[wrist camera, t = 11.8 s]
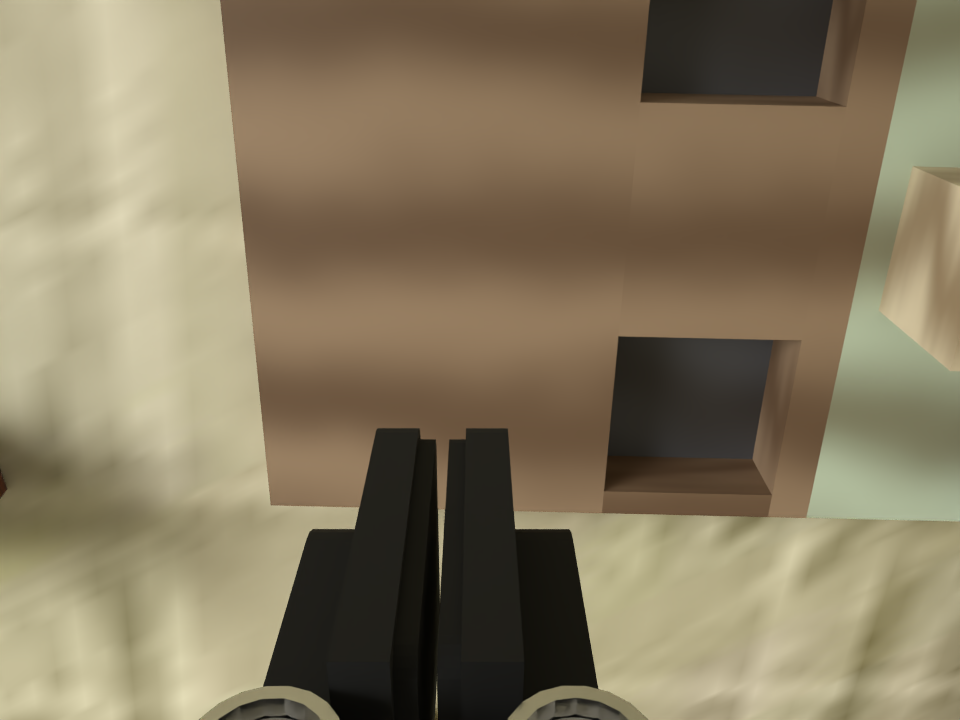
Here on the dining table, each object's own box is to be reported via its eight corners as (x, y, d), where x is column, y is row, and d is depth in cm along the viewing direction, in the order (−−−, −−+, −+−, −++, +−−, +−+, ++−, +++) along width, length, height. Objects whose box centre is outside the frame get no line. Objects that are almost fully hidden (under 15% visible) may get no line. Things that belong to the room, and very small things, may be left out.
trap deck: (232, -168, 26) (177, -200, 22) (1130, -150, 26) (1266, -179, 21) (288, 465, 36) (257, 535, 31) (947, 480, 35) (1014, 553, 31)
